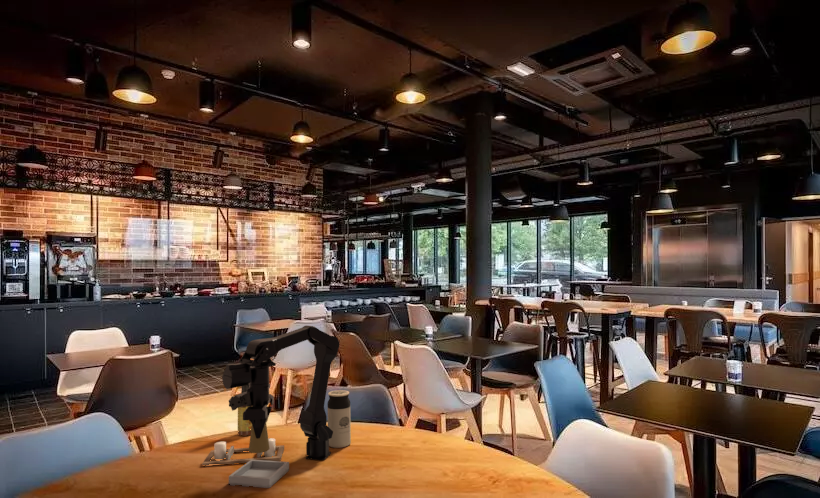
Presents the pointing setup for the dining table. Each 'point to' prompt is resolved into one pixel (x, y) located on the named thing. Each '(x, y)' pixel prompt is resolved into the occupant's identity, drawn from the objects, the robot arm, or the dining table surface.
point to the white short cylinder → (220, 450)
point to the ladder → (230, 453)
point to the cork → (259, 441)
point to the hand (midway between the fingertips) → (259, 435)
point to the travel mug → (339, 418)
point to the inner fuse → (272, 448)
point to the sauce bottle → (243, 425)
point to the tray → (259, 473)
